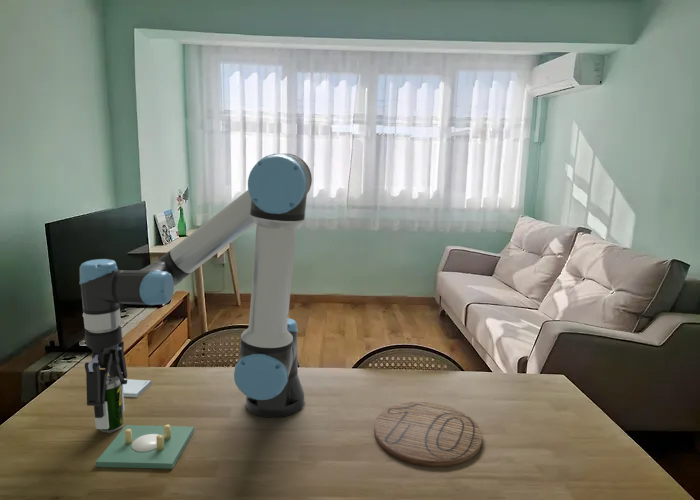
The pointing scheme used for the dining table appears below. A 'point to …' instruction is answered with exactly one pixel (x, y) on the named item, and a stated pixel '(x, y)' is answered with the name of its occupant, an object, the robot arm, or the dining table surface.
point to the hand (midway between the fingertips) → (110, 418)
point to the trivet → (428, 434)
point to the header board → (146, 447)
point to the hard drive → (135, 387)
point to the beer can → (114, 404)
